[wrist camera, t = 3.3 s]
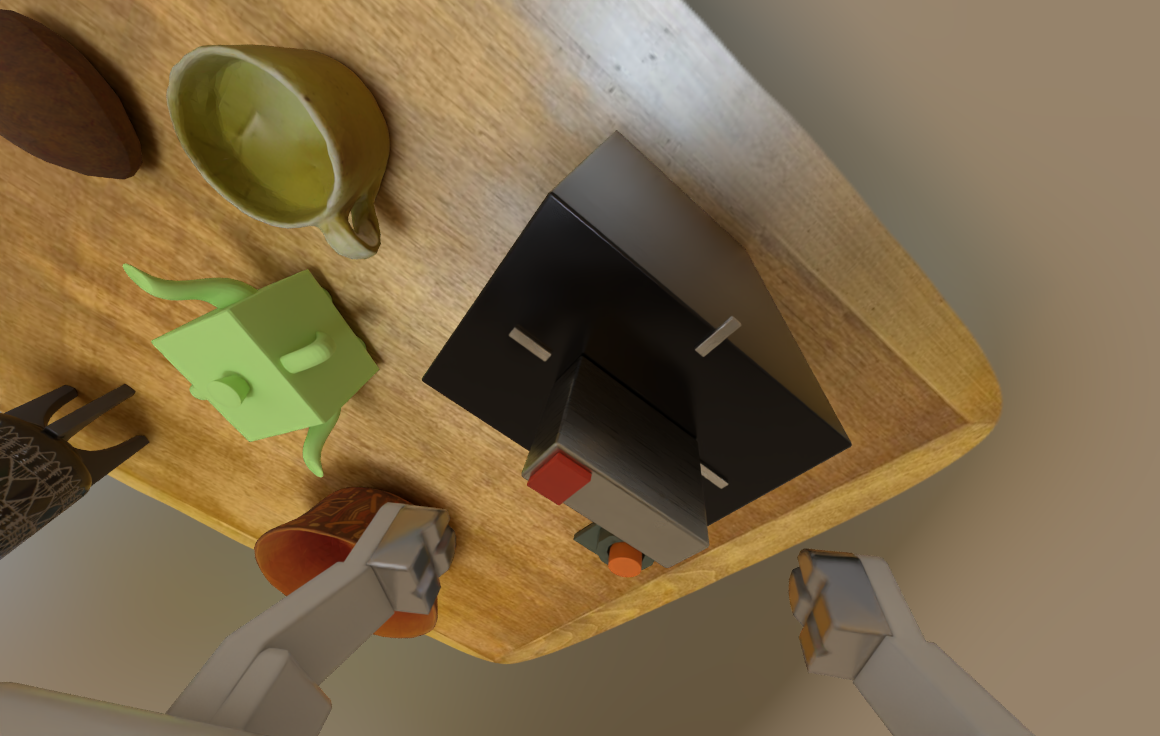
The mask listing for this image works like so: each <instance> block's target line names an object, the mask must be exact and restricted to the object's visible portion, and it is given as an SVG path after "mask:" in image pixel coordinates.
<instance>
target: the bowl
mask: <svg viewBox="0 0 1160 736" xmlns="http://www.w3.org/2000/svg"><path fill="white" fill-rule="evenodd" d="M387 502H390V503H399V504H408V505H413V504H411V503H410V502H408V501H406V500H404V499H403V498H401V497H399V496H397V495H394V494H392V493H389V492H386V491H382V490H377V489H372V488H366V487H347V488H344V489H340V490H337V491H335V492H333V493H331V494H330V495H328V496H327V497H326V498H324V499H323V500H322V501H320V502H319V503H318V504H316V505H315V506H314V507H313V508H311V509H310V510H309V511H308V512H306V513H305V514H303V515H302V516H300V517H298V518H297V519H295V520H292V521H290V522H288V523H285V524H283V525H280V526H278V527H276V528H273V529H271V530H269V531H268V532H266V533H265V534H263V535H262V536H261V537H260V538H259V539H258V540H257V542H256V544H255V547H254V550H255V558H256V561H257V564H258V566H259V568H260V570H261V571H262V573H263V575H264V576H265V578H266V579H267V580H268V581H269V582H270V584H271V585H273V586H274V587H275V588H277V589H278V590H279V591H281V592H282V593H283V594H284V595H285V596H288V595H289V594H291V593H292V592H294V591H295V590H297V589H298V588H300V587H301V586H303V585H304V584H306V583H307V582H309V581H310V580H312V579H313V578H315V577H316V576H317V575H319V574H320V573H322V572H323V571H325V570H326V569H328V568H329V567H331V566H332V565H334V564H335V563H337V562H344V561H345V560H346V558H347V557H348V555H349V554H350V552H351V551H352V549H353V548H354V546H355V545H356V543H357V542H358V540H359V539H360V537H361V536H362V534H363V533H364V531H365V530H366V528H367V527H368V525H369V524H370V522H371V521H372V519H373V518H374V517H375V515H376V514H377V512H378V511H379V509H380V508H381V507H382V506H383V505H384V504H386V503H387ZM394 612H395V613H394V614H393V615H392V616H391V617H390V618H389V619H388V620H387V621H386V622H385V623H384V624H383V625H382V626H381V627H380V628H379V629H378V630H377V631H376V632H374V633H373V634H374V635H378V636H382V637H390V638H414V637H417V636H421V635H424V634H426V633H428V632H430V631H431V630H432V629H433V628H434V627H435V625H436V622H437V612H438V605H437V597H436V599H435V602H434V604H433V606H432V608H431V611H430V613H429V615H426V614H417V613H409V612H400V611H394Z"/></svg>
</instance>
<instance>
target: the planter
mask: <svg viewBox="0 0 1160 736" xmlns="http://www.w3.org/2000/svg"><path fill="white" fill-rule="evenodd" d="M134 393H135V391H134V390H133V389H131V388H130V387H129V386H127V385H126V384H124V385H122V386H120V387H118V388H116V389H114V390H113V391H111V392H109V393H107V394H105V395H103V396H102V397H100V398H98V399H96V400H94V401H92V402H90V403H89V404H87V405H85V406H83V407H81V408H79V409H77V410H76V411H74V412H72V413H70V414H68V415H66V416H64V417H63V418H61V419H59V420H57V421H55V422H53V423H52V424H50V425H48V422H49V420H50V418H51V417H52V415H53V414H54V413H55V412H56V411H57V410H58V409H59V408H61V407H62V406H63V405H65V404H66V403H68V402H69V401H71V400H72V399H74V398H75V397H77V396H78V395H77V393H76V390H75V388H72V387H70V386H67V385H64V386H62V387H60V388H58V389H55V390H53V391H51V392H49V393H47V394H45V395H42V396H40V397H38V398H36V399H34V400H32V401H29V402H27V403H25V404H23V405H21V406H19V407H16V408H14V409H12V410H10V411H8V412H6V413H0V560H1V559H2V558H3V557H5V556H6V555H7V554H9V553H10V552H11V551H12V550H14V549H15V548H16V547H18V546H19V545H20V544H22V543H23V542H24V541H26V540H27V539H28V538H29V537H31V536H32V535H33V534H35V533H36V532H37V531H39V530H40V529H41V528H43V527H44V526H45V525H47V524H48V523H49V522H50V521H52V520H53V519H54V518H56V517H57V516H58V515H60V514H61V513H62V512H63V511H65V510H66V509H68V508H69V507H70V506H71V505H73V504H74V503H75V502H77V501H78V500H79V499H81V498H82V497H83V496H84V495H85V494H86V493H87V492H88V491H89V489H90V487H91V486H92V485H93V484H95V483H96V482H97V481H99V480H100V479H101V478H103V477H104V476H105V475H107V474H108V473H109V472H111V471H112V470H113V469H115V468H116V467H117V466H119V465H120V464H121V463H123V462H124V461H125V460H127V459H128V458H129V457H131V456H132V455H134V454H135V453H136V452H138V451H139V450H140V449H142V448H143V447H144V446H146V445H147V444H148V443H150V442H149V441H148V440H147V438H146V437H145V436H135V437H133V438H131V439H129V440H127V441H125V442H123V443H121V444H119V445H116V446H113V447H110V448H107V449H103V450H96V451H87V450H81V449H77V448H74V447H73V446H72V445H71V444H69V443H68V442H67V441H68V440H69V439H70V438H71V437H72V436H74V435H75V434H76V433H77V432H79V431H80V430H81V429H83V428H84V427H85V426H87V425H88V424H89V423H91V422H92V421H94V420H95V419H97V418H98V417H99V416H101V415H102V414H104V413H106V412H107V411H109V410H110V409H112V408H113V407H115V406H116V405H118V404H120V403H121V402H123V401H125V400H126V399H128V398H130V397H131V396H133V395H134ZM47 425H48V426H47Z"/></svg>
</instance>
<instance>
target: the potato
mask: <svg viewBox="0 0 1160 736" xmlns="http://www.w3.org/2000/svg"><path fill="white" fill-rule="evenodd" d="M0 135H1V136H3V137H4V138H6V139H7V140H9V141H10V142H12V143H13V144H15V145H16V146H18V147H20V148H21V149H23V150H25V151H26V152H28V153H30V154H31V155H33V156H36V157H38V158H40V159H42V160H44V161H46V162H49V163H52V164H55V165H58V166H61V167H64V168H67V169H70V170H72V171H75V172H78V173H81V174H84V175H88V176H96V177H104V178H115V179H127V178H129V177H132V176H134V175H135V173H136V172H137V170H138V169H139V167H140V165H141V163H142V154H141V144H140V142H139V140H138V137H137V135H136V132H135V130H134V128H133V126H132V124H131V122H130V120H129V118H128V116H127V114H126V112H125V110H124V108H123V105H122V103H121V101H120V99H119V97H118V96H117V95H116V94H115V92H114V91H113V90H112V88H111V87H110V86H109V85H108V83H107V82H106V81H105V80H104V79H103V77H102V76H101V75H100V74H99V73H98V71H97V70H96V69H95V68H94V67H93V66H92V65H91V64H90V63H89V61H88V60H87V59H86V58H85V57H84V56H83V55H82V54H81V53H80V52H79V51H78V50H77V49H75V48H74V47H73V46H72V45H71V44H70V43H69V42H67V41H66V40H65V39H64V38H62V37H61V36H59V35H58V34H57V33H55V32H54V31H52V30H50V29H49V28H47V27H46V26H44V25H43V24H41V23H39V22H37V21H35V20H33V19H31V18H29V17H26V16H24V15H22V14H19V13H17V12H14V11H11V10H2V9H0Z"/></svg>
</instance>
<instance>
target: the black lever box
mask: <svg viewBox="0 0 1160 736" xmlns="http://www.w3.org/2000/svg"><path fill="white" fill-rule="evenodd" d="M581 356H584V357H585V358H586V359H588V360H589V361H590V362H592V363H593V364H594V365H596V366H597V367H598V368H600V369H601V370H602V371H604V372H605V373H607V374H608V375H609V376H611V377H612V378H613V379H615V380H616V381H617V382H619V383H620V384H621V385H623V386H624V387H625V388H627V389H628V390H629V391H631V392H632V393H633V394H635V395H636V396H637V397H639V398H640V399H641V400H643V401H644V402H645V403H647V404H648V405H649V406H651V407H652V408H653V409H655V410H656V411H658V412H659V413H660V414H662V415H663V416H664V417H666V418H667V419H668V420H670V421H671V422H672V423H674V424H675V425H676V426H678V427H679V428H680V429H682V430H683V431H684V432H686V433H687V434H688V435H690V436H691V437H692V438H694V439H695V440H696V441H697V442H698V447H699V457H700V466H701V475H702V484H703V493H704V502H705V511H706V520H707V526H709V525H711V524H712V523H714V522H716V521H718V520H720V519H721V518H723V517H725V516H727V515H729V514H730V513H732V512H734V511H736V510H738V509H739V508H741V507H743V506H745V505H747V504H748V503H750V502H752V501H754V500H756V499H757V498H759V497H761V496H763V495H765V494H766V493H768V492H770V491H772V490H774V489H775V488H777V487H779V486H781V485H783V484H784V483H786V482H788V481H790V480H792V479H793V478H795V477H797V476H799V475H801V474H802V473H804V472H806V471H808V470H810V469H811V468H813V467H815V466H817V465H819V464H820V463H822V462H824V461H826V460H828V459H829V458H831V457H833V456H835V455H837V454H838V453H840V452H842V451H844V450H846V449H847V448H849V447H851V446H852V444H851V441H850V440H849V438H848V436H847V434H846V432H845V430H844V429H843V427H842V425H841V423H840V421H839V419H838V418H837V416H836V414H835V412H834V410H833V408H832V407H831V405H830V403H829V401H828V399H827V397H826V396H825V394H824V392H823V390H822V388H821V386H820V385H819V383H818V381H817V379H816V377H815V375H814V374H813V372H812V370H811V368H810V366H809V364H808V363H807V361H806V359H805V357H804V355H803V353H802V352H801V350H800V348H799V346H798V344H797V342H796V341H795V339H794V337H793V335H792V333H791V331H790V330H789V328H788V326H787V324H786V322H785V320H784V319H783V317H782V315H781V313H780V311H779V309H778V308H777V306H776V304H775V302H774V300H773V298H772V297H771V295H770V293H769V291H768V289H767V287H766V286H765V284H764V282H763V280H762V278H761V276H760V275H759V273H758V271H757V269H756V267H755V265H754V264H753V262H752V260H751V258H750V256H749V254H748V253H747V251H746V249H745V248H744V247H743V246H742V245H741V244H740V243H738V242H737V241H736V240H735V239H734V238H733V237H732V236H731V235H730V234H729V233H728V232H727V231H725V230H724V229H723V228H722V227H721V226H720V225H719V224H718V223H717V222H716V221H715V220H714V219H713V218H711V217H710V216H709V215H708V214H707V213H706V212H705V211H704V210H703V209H702V208H701V207H700V206H698V205H697V204H696V203H695V202H694V201H693V200H692V199H691V198H690V197H689V196H688V195H687V194H685V193H684V192H683V191H682V190H681V189H680V188H679V187H678V186H677V185H676V184H675V183H674V182H673V181H671V180H670V179H669V178H668V177H667V176H666V175H665V174H664V173H663V172H662V171H661V170H660V169H658V168H657V167H656V166H655V165H654V164H653V163H652V162H651V161H650V160H649V159H648V158H647V157H645V156H644V155H643V154H642V153H641V152H640V151H639V150H638V149H637V148H636V147H635V146H634V145H632V144H631V143H630V142H629V141H628V140H627V139H626V138H625V137H624V136H623V135H622V134H621V133H620V132H618V131H617V130H616V131H615V132H614V133H613V134H612V135H611V136H609V137H608V138H607V139H606V140H605V141H604V142H603V143H602V144H601V145H600V146H599V147H598V148H597V149H595V150H594V151H593V152H592V153H591V154H590V155H589V156H588V157H587V158H586V159H585V160H584V161H583V162H581V163H580V164H579V165H578V166H577V167H576V168H575V169H574V170H573V171H572V172H571V173H570V174H568V175H567V176H566V177H565V178H564V179H563V180H562V181H561V182H560V183H559V184H558V185H557V186H556V187H554V188H553V189H552V190H551V191H550V192H549V193H548V195H547V196H546V198H545V199H544V201H543V202H542V203H541V205H540V206H539V208H538V209H537V211H536V212H535V214H534V215H533V217H532V218H531V220H530V221H529V222H528V224H527V225H526V227H525V228H524V230H523V231H522V233H521V234H520V236H519V237H518V239H517V240H516V241H515V243H514V244H513V246H512V247H511V249H510V250H509V252H508V253H507V255H506V256H505V258H504V259H503V260H502V262H501V263H500V265H499V266H498V268H497V269H496V271H495V272H494V274H493V275H492V277H491V278H490V280H489V281H488V282H487V284H486V285H485V287H484V288H483V290H482V291H481V293H480V294H479V296H478V297H477V299H476V300H475V301H474V303H473V304H472V306H471V307H470V309H469V310H468V312H467V313H466V315H465V316H464V318H463V319H462V320H461V322H460V323H459V325H458V326H457V328H456V329H455V331H454V332H453V334H452V335H451V337H450V338H449V340H448V341H447V342H446V344H445V345H444V347H443V348H442V350H441V351H440V353H439V354H438V356H437V357H436V359H435V360H434V361H433V363H432V364H431V366H430V367H429V369H428V370H427V372H426V373H425V375H424V376H423V378H422V381H423V382H424V383H426V384H427V385H429V386H430V387H432V388H433V389H435V390H436V391H438V392H440V393H441V394H443V395H444V396H446V397H447V398H449V399H450V400H452V401H453V402H455V403H456V404H458V405H459V406H461V407H462V408H464V409H466V410H467V411H469V412H470V413H472V414H473V415H475V416H476V417H478V418H479V419H481V420H482V421H484V422H485V423H487V424H488V425H490V426H492V427H493V428H495V429H496V430H498V431H499V432H501V433H502V434H504V435H505V436H507V437H508V438H510V439H511V440H513V441H514V442H516V443H518V444H519V445H521V446H522V447H524V448H525V449H527V450H528V451H530V449H531V446H532V443H533V440H534V438H535V435H536V432H537V429H538V426H539V424H540V421H541V418H542V415H543V412H544V410H545V407H546V404H547V401H548V399H549V396H550V393H551V390H552V387H553V385H554V383H555V382H556V381H557V380H558V379H559V378H560V377H561V376H562V375H563V374H564V373H565V372H566V371H567V370H568V369H569V368H570V367H571V366H572V365H573V364H574V363H575V362H576V361H577V360H578V359H579V357H581Z"/></svg>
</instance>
